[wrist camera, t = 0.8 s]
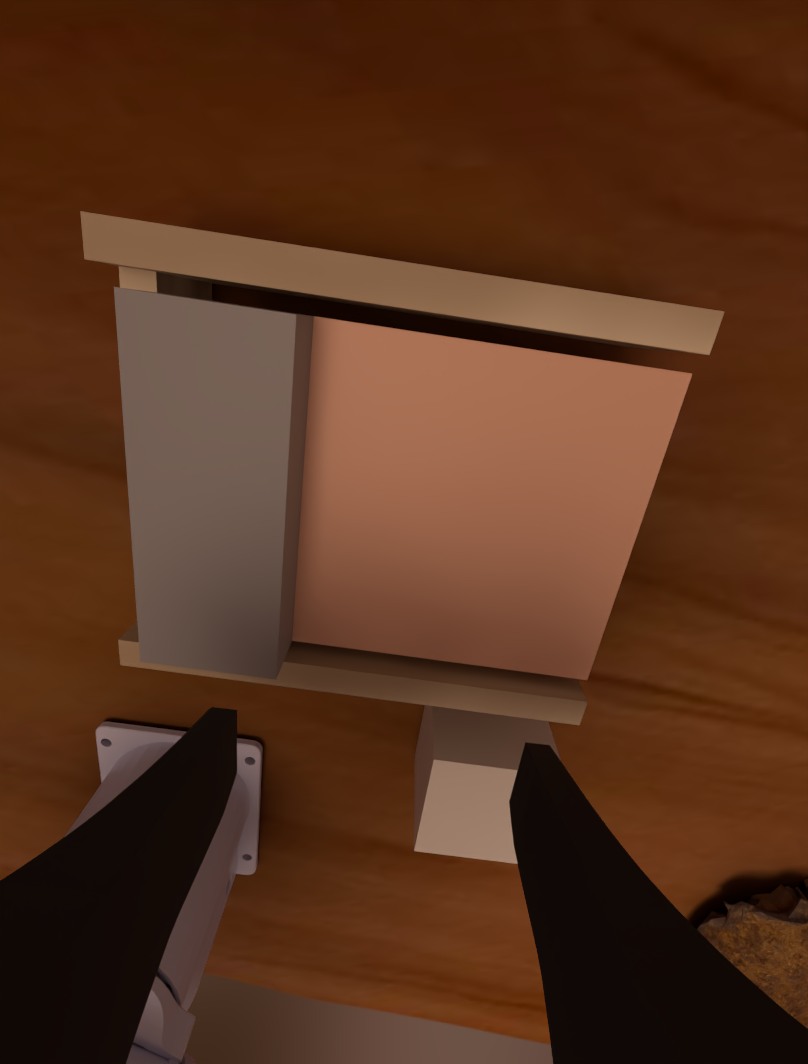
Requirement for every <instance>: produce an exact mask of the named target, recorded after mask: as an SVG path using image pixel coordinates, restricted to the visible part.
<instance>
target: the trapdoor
mask: <svg viewBox="0 0 808 1064" xmlns="http://www.w3.org/2000/svg"><path fill="white" fill-rule="evenodd" d="M114 294H115V309H116V323H117V337H118V352H119V366H120V380H121V394H122V409H123V423H124V437H125V452H126V466H127V480H128V494H129V509H130V523H131V537H132V551H133V566H134V580H135V594H136V609H137V623H138V637H139V651H140V662H146V663H153V664H161V665H168V666H176V667H184V668H191V669H199V670H206V671H214V672H222V673H229V674H237V675H244V676H252V677H260V678H267V679H275V680H276V679H277V677H278V674H279V672H280V669H281V667H282V664H283V662H284V659H285V657H286V654H287V652H288V649H289V647H290V644H291V642H292V641H298V642H306V643H313V644H321V645H328V646H335V647H343V648H350V649H358V650H365V651H373V652H380V653H388V654H395V655H403V656H410V657H418V658H425V659H433V660H440V661H447V662H455V663H462V664H470V665H477V666H485V667H492V668H500V669H507V670H515V671H522V672H530V673H537V674H544V675H552V676H559V677H567V678H574V679H582V680H587V679H588V677H589V674H590V671H591V668H592V665H593V662H594V659H595V656H596V653H597V650H598V647H599V644H600V642H601V639H602V636H603V633H604V630H605V627H606V624H607V621H608V618H609V615H610V612H611V609H612V607H613V604H614V601H615V598H616V595H617V592H618V589H619V586H620V583H621V580H622V577H623V574H624V572H625V569H626V566H627V563H628V560H629V557H630V554H631V551H632V548H633V545H634V542H635V539H636V537H637V534H638V531H639V528H640V525H641V522H642V519H643V516H644V513H645V510H646V507H647V504H648V502H649V499H650V496H651V493H652V490H653V487H654V484H655V481H656V478H657V475H658V472H659V469H660V467H661V464H662V461H663V458H664V455H665V452H666V449H667V446H668V443H669V440H670V437H671V435H672V432H673V429H674V426H675V423H676V420H677V417H678V414H679V411H680V408H681V405H682V402H683V400H684V397H685V394H686V391H687V388H688V385H689V382H690V379H691V376H692V374H690V373H685V372H679V371H673V370H666V369H660V368H653V367H647V366H640V365H633V364H627V363H620V362H614V361H607V360H600V359H594V358H587V357H581V356H574V355H568V354H561V353H554V352H548V351H541V350H535V349H528V348H521V347H515V346H508V345H502V344H495V343H489V342H482V341H475V340H469V339H462V338H456V337H449V336H443V335H436V334H429V333H423V332H416V331H410V330H403V329H396V328H390V327H383V326H377V325H370V324H364V323H357V322H350V321H344V320H337V319H331V318H324V317H317V316H311V315H304V314H298V313H291V312H285V311H278V310H271V309H265V308H258V307H252V306H245V305H239V304H232V303H225V302H219V301H212V300H206V299H199V298H192V297H186V296H179V295H172V294H165V293H157V292H149V291H141V290H134V289H126V288H118V287H114Z"/></svg>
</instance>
